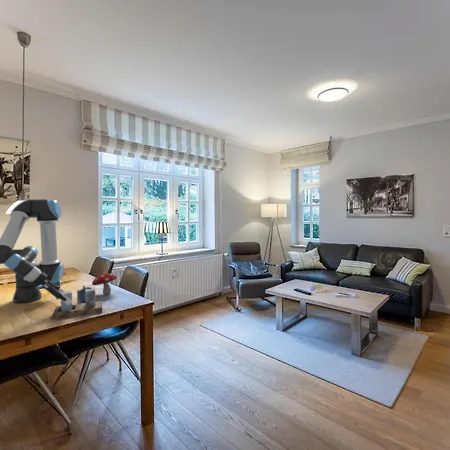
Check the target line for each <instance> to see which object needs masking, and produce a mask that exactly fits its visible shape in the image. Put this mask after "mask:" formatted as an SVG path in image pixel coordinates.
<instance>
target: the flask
mask: <svg viewBox="0 0 450 450" xmlns="http://www.w3.org/2000/svg"><path fill="white" fill-rule="evenodd" d="M86 289H92V287H91V286H86V285H82V288H81V289H77V290H76V296H77V303H76V304H81V303H86V299H85V291H86Z"/></svg>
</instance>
